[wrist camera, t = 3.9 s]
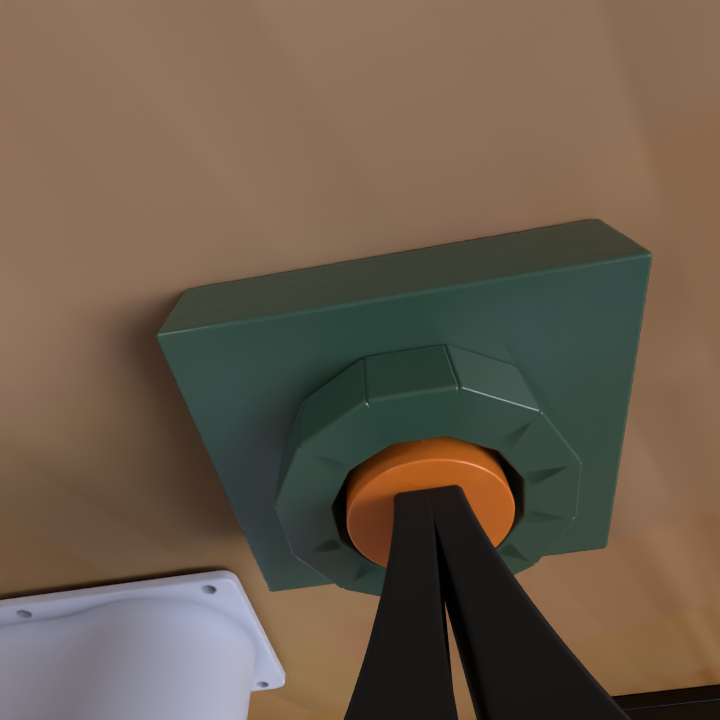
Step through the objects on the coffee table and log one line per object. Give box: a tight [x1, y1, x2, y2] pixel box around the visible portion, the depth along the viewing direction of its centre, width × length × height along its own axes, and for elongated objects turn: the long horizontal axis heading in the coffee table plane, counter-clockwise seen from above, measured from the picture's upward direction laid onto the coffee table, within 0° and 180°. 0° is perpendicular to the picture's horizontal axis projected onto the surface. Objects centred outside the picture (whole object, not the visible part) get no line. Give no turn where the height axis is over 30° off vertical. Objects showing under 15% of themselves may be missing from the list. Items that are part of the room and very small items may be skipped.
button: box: [346, 437, 515, 568], centre depth 11 cm, size 4×4×2 cm
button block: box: [156, 219, 652, 596], centre depth 12 cm, size 10×9×4 cm
